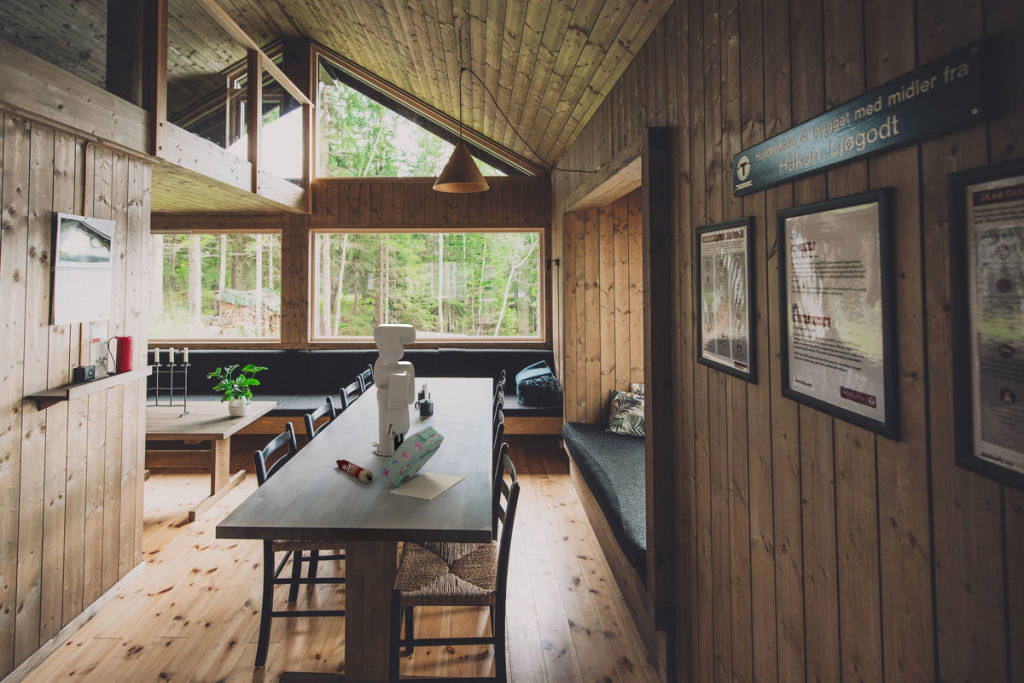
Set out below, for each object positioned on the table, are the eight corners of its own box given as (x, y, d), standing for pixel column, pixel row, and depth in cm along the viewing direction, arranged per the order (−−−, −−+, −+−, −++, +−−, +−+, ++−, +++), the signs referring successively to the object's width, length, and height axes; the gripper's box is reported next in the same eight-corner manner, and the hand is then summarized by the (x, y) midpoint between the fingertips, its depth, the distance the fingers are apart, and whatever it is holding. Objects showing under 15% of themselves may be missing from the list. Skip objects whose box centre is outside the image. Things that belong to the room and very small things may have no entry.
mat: (388, 493, 194) (388, 492, 194) (426, 472, 218) (426, 471, 218) (431, 500, 187) (431, 499, 187) (464, 478, 211) (464, 477, 211)
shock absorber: (330, 460, 223) (364, 477, 201) (340, 454, 226) (374, 470, 204) (334, 469, 224) (368, 487, 202) (344, 463, 227) (379, 480, 205)
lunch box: (392, 494, 194) (427, 454, 190) (372, 475, 196) (407, 434, 191) (420, 471, 220) (452, 435, 216) (403, 453, 221) (434, 418, 217)
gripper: (401, 400, 214) (401, 445, 216) (378, 407, 200) (379, 454, 201) (417, 402, 212) (417, 447, 213) (395, 408, 197) (395, 457, 199)
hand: (398, 450), depth 207 cm, fingers closed
